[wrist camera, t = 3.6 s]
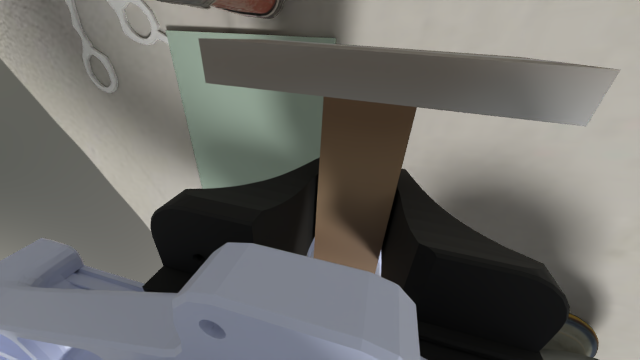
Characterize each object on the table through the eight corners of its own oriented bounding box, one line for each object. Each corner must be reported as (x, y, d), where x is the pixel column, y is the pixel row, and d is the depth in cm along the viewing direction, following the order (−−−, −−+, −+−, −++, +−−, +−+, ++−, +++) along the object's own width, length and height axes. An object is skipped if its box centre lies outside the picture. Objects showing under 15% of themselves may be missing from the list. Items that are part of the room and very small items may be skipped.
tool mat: (324, 217, 24) (323, 220, 23) (206, 194, 26) (204, 196, 26) (336, 38, 16) (334, 38, 16) (169, 30, 19) (165, 30, 19)
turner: (423, 284, 16) (434, 372, 12) (279, 249, 18) (243, 313, 14) (518, 57, 9) (620, 70, 5) (271, 39, 11) (198, 38, 7)
